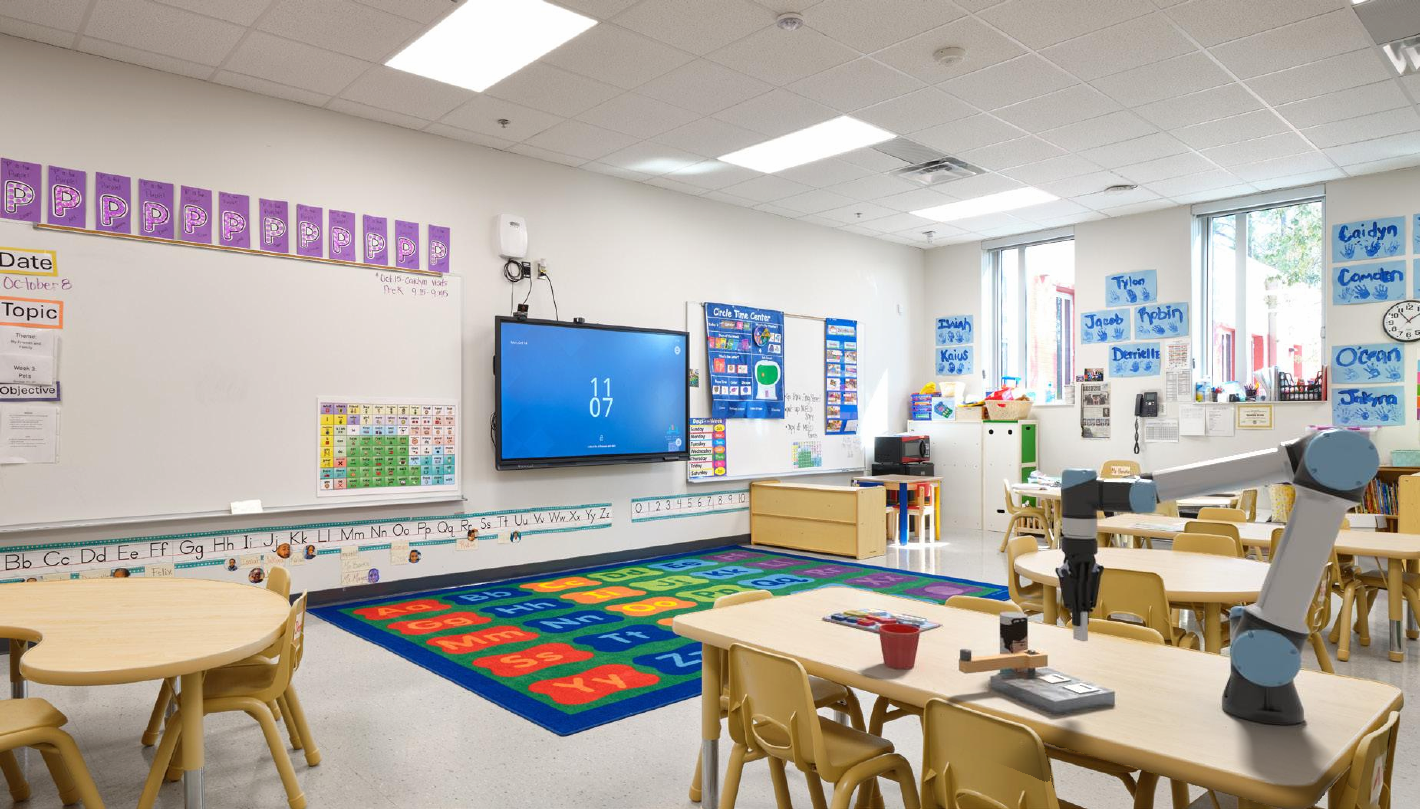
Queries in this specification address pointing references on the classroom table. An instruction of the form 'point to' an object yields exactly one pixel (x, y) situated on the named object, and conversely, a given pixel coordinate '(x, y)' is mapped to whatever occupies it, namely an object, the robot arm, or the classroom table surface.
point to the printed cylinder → (1013, 636)
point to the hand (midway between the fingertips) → (1080, 639)
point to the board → (1052, 690)
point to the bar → (1000, 661)
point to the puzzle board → (878, 620)
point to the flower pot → (899, 645)
